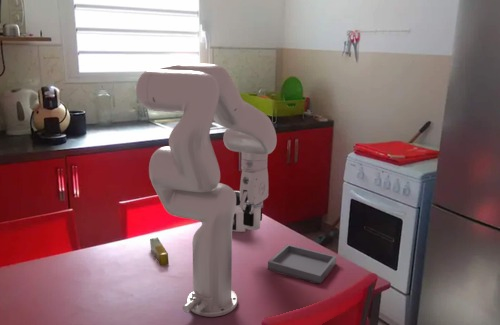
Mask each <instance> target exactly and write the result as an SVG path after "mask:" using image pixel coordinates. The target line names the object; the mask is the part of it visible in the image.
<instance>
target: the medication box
mask: <svg viewBox="0 0 500 325" xmlns="http://www.w3.org/2000/svg"><path fill="white" fill-rule="evenodd" d="M149 241H150V245H149V246H150V251H151V253H152V254H153V255H154V257H155V259H156V261H157V263H158V264H159V266H160V267H164V266H168V265H169V254H168V251H167V250H166V248H165V247H164V246H163V243H162V242H161V240H160V239H159V237H154V238H150V239H149Z"/></svg>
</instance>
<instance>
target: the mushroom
mask: <svg viewBox="0 0 500 325" xmlns="http://www.w3.org/2000/svg"><path fill="white" fill-rule="evenodd" d="M247 202H249V201H247ZM261 205H262V202H260V203H258V204H256V205H254V206H253V214H254V225H253V226H252V227H251V226H247V225H245V228H246V230H249V231H258V230H259V229H261V221H260V218H261ZM247 206H248V207H249V208H250V205H247Z"/></svg>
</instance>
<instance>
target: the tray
mask: <svg viewBox="0 0 500 325" xmlns="http://www.w3.org/2000/svg"><path fill="white" fill-rule="evenodd" d="M337 258H338V257H337V256H336V255H332V254H328V253H324V252H321V251H317V250H316V251H315V250H312V249H309V248H304V247H301V246H297V245H292V244H286V245H284V247H283V248H282V249H281V250H279V251H278V252H277V253H276V254H275V255H274V256H273V257H272V258H270V259H269V260H268V261H267V270H268V271H273V272H276V273H279V274H283V275H286V276H289V277H294V278H296V279H300V280H304V281H307V282H310V283H314V284H318V285H320V284H322V282H323V281H324V280H325V278H326V277H327V276H328V275H329V274H330V273H331V271H332V270H333V269H334V267H335V266H336V265H337Z"/></svg>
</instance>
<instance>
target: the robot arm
mask: <svg viewBox="0 0 500 325" xmlns="http://www.w3.org/2000/svg"><path fill="white" fill-rule="evenodd" d="M135 91H136V92H135V93H136V96H137V100H138V102H139V103H140V105H141V106H142V107H144V108H145V109H147V110H149V111H153V112H164V113H178V114H182V116H181V118H180V119H179V121H178V122H177V124H175V126H174V128H172V130H171V133H170V134H169V138H168V145H167V146H165V145H164V146H161V147H159V148H157V149H156V150H155V151H154V152H153V153H152V155H151V157H150V160H149V164H148V165H149V166H148V175H149V180H150V181H151V182H150V183H151V185H152V187H153V189H154V190H155V192H156V194H157V197H158V198H159V200H160V203H161V204H162V206H163V208H164V210H165V211H166V212H167V213H168V214H169V215H171V216H174V217H178V218H182V219H189V220H193V221H196V222H200V223H201V226H199V228H198V229H197V230H196V231H195V232H194V234H193V236H192V286H193V287H192V289H193V291H192V292H191V293H189V294H188V296H187V300H186V303H185V304H183V306H182V310H183V312H184V313H186V314H188V313H189V312H192V313H194V314H196V315H198V316H202V317H209V318H213V317H221V316H224V315H227V314H229V313H230V312H232V311H233V310H235V309H236V307H237V305H238V300H239V299H238V296H237V294H236V293H235V291H233V290H232V276H233V275H232V272H233V271H232V269H233V268H232V267H233V265H232V263H233V262H232V261H233V258H232V257H233V254H232V252H233V246H232V245H233V231H232V226H233V219H234V213H235V208H236V194H235V192H234V191H235V190H234V189H233V188H232V187H230V186H229V185H228V184H224V183H222V182H220V181H221V171H220V165H219V162H218V159H217V156H216V154H215V151H214V148H213V145H212V141H211V137H210V134H211V133H210V132H211V129H212V128H211V127H212V125H213V121H214V122H215V123H216V124H218V126H221V127H223V128H225V131H224V133H223V138H222V139H223V140H222V141H223V143H224V146H225V147H226V149H228V150H229V151H232V152H237V153H241V176H240V184H239V192H240V201H241V202H240V205H239V207H240V208H241V209H242V210H243V213H244V214H243V224H244V225H247V226H251V227H252V226H253V225H254V214H253V206H254V205H256V204H258V203H260V202H262V205H261V218H260V222H261V221H263V208H264V201H265V200H266V199H268V197H269V172H268V156H269V154H272V153H273V151H274V150H275V149H276V146H277V142H278V140H277V139H278V138H277V134H276V133H277V132H276V129H275V126H274V123H273V122H272V120H271V119H270V117H269V116H268V115H267V114H266V113H264V112H263V111H261V110H260V109H258V108H256V107H255V106H254V105H252V104H250V103H248V102H247V101H245V100H243V98H242V96H241V94H240V92H239V90H238V89H237V86H236V84H235V82H234V81H233V79H232V77H231V74H230V73H229V72H228V70H227V69H226V68H224V66H222V65H219V64H213V63H192V62H191V63H190V62H182V63H181V62H180V63H175V64H170V65H165V66H158V67H153V68H149V69H147V70H145V71H144V72H142V73H141V74H140V76H139V78H138V80H137V83H136V88H135ZM247 201H249V202H247ZM247 205H250V208H249V207H248V206H247Z"/></svg>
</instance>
